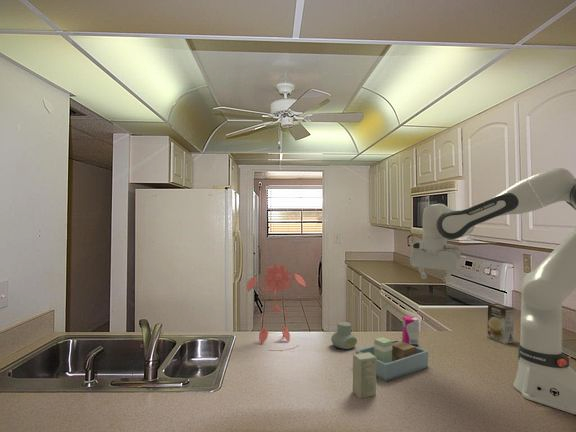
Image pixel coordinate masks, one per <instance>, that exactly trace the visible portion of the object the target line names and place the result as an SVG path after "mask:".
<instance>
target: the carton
mask: <svg viewBox="0 0 576 432" xmlns="http://www.w3.org/2000/svg"><path fill="white" fill-rule="evenodd" d="M392 341H393V340H391V339H389V338H386V337H383V336H382V337H378V338H374V343H373V346H374V356H375V357H377V360H379V361H381V362H384V363H389V362H392Z"/></svg>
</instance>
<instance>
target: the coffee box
mask: <svg viewBox="0 0 576 432" xmlns="http://www.w3.org/2000/svg"><path fill="white" fill-rule="evenodd" d="M514 324H515V308H514V307H511V306H507V305H504V304H501V303H497V302H496V303H488V304H487V324H486V325H487V327H486V328H487V329H486V337H487V339H490V340H493V341H494V342H498V343H501V344H503V345H505V344H512V343H514V329H515V328H514Z"/></svg>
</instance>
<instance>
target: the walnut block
mask: <svg viewBox="0 0 576 432" xmlns="http://www.w3.org/2000/svg"><path fill="white" fill-rule="evenodd" d="M416 347H417V346H413V345H410V344H408V343H405V342H403V341H402V340H399V342H395V343H392V361H396V360H399V359H402V358H405V357H408V356H411V355H414V354H416Z"/></svg>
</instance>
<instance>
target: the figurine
mask: <svg viewBox="0 0 576 432" xmlns="http://www.w3.org/2000/svg"><path fill="white" fill-rule="evenodd" d="M266 271H267V273H265V274H264V275H263V279H264V281H263V286H264V287H269V288H267V289H264V288H263V286H262V285H261V284H260V283H259V282H258V280H257V278H256V276H253V277H251V278H250V279H249V280H248V281H247V284H246V289H247V292H250V291H251V290H252V289H254V288H255V286H256V283H257V285H258V286H259V287H260V288H261V290H262V291H263V292H267V291H270V292H271V293H273V299H274V304H275V306H273V308H272V309H271V310H270V311H268V312H264V313H263V314H262V317H263V319H262V320H263V322H265V315H266V314H269V313H271V312H273V311H274V312H275V313H277V312H282V313H284V314H285V316H287V312H286V311H283V310H281V309H280V307H279V306H278V304H277V301H276V292H279V293H281V292H282V290H289V288H290V287H291V284H292V283H293V281H294V279H295V281H296V282H297V283H298V284H299V285H301V286H303V287H304V288H306V287H307V286H306V281H305V280H304V278H303V277H302V276H301V275H300V274H298V273H296V272H294V273H293V276H291V275H290V272H291V270H290V269H286V266H285V264H284V263H281V264H280V265H277V264H273V266H267V267H266ZM288 282H289V283H288ZM284 318H285V319H284V320H285V321H284V326H283V327H282V329H281V331H282V333H281V334H282V337H281V338H282V339H285V340H286V341H287V342H290V341H291V340H290V339H291V333H290V331H289V329H288V328H287V327H286V326H287V317H284ZM265 324H266V323H263V328H261V330H259V333H258V340H259V342H260V344H264V343H265V341H266V340H267V339H268V336H269V330H268V328H266V327H265ZM297 347H298V345H296V346H295V347H292V348H287V349H286V351H288V350H291V349H295V348H297ZM270 351H271V352H273V351H274V352H276V351H279V352H283V349H281V350H280V349H277V350H276V349H275V350H272V349H270Z"/></svg>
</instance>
